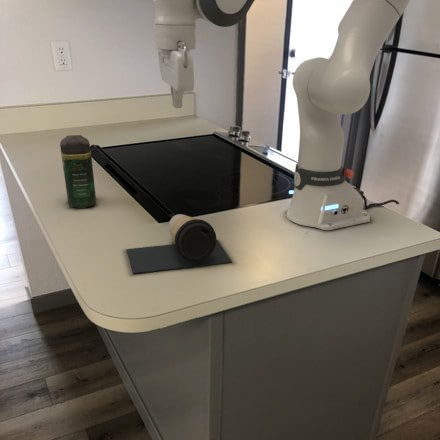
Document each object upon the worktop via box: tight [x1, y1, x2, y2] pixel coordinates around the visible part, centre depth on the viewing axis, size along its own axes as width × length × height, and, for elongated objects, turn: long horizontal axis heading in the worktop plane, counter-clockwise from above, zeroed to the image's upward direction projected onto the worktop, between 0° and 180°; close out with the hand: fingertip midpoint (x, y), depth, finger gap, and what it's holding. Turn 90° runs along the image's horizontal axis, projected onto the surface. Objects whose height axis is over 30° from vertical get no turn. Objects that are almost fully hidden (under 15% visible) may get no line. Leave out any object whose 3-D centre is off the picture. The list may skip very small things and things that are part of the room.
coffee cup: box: [167, 213, 218, 262], centre depth 111 cm, size 9×9×15 cm
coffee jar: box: [59, 134, 97, 209], centre depth 135 cm, size 10×8×19 cm
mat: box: [126, 239, 233, 275], centre depth 111 cm, size 22×12×1 cm, turn 106°
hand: (177, 107), depth 113 cm, fingers closed
